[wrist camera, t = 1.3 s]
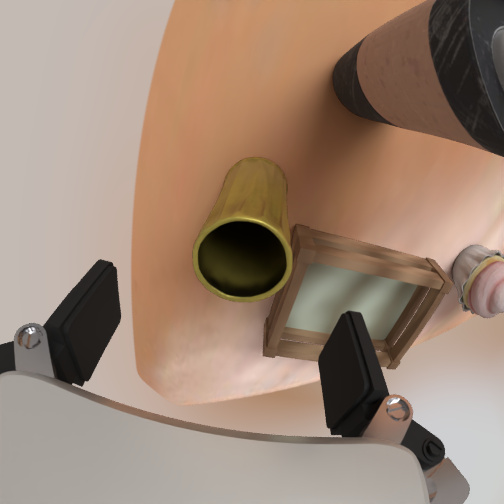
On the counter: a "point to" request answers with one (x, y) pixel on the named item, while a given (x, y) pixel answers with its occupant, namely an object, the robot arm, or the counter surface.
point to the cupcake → (480, 280)
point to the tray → (351, 296)
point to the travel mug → (432, 72)
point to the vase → (246, 235)
